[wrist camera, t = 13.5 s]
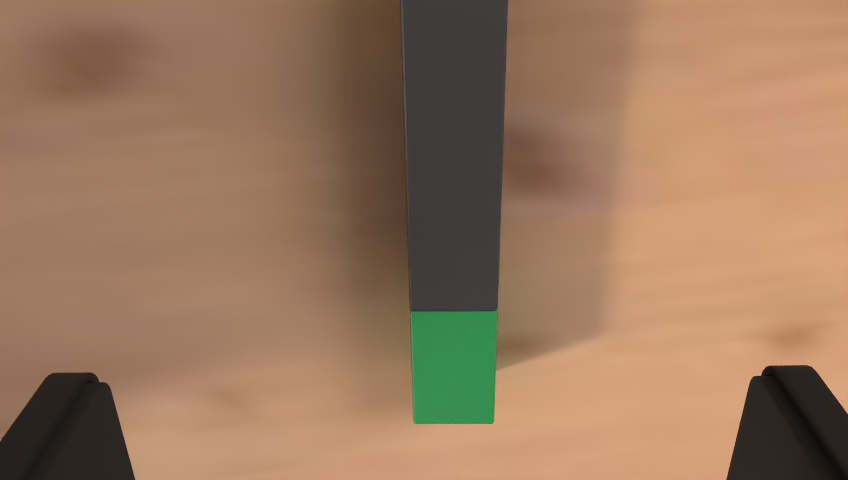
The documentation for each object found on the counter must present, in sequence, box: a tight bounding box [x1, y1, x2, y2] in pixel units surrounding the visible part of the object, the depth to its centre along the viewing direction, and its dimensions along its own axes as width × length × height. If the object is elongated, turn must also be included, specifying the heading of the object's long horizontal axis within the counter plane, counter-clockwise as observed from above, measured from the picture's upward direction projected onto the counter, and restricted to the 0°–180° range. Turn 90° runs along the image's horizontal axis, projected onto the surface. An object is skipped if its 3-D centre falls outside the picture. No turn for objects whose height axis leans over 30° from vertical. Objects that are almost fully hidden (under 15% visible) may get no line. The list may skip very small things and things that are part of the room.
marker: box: [400, 0, 508, 424], centre depth 20 cm, size 14×2×2 cm, turn 1°
